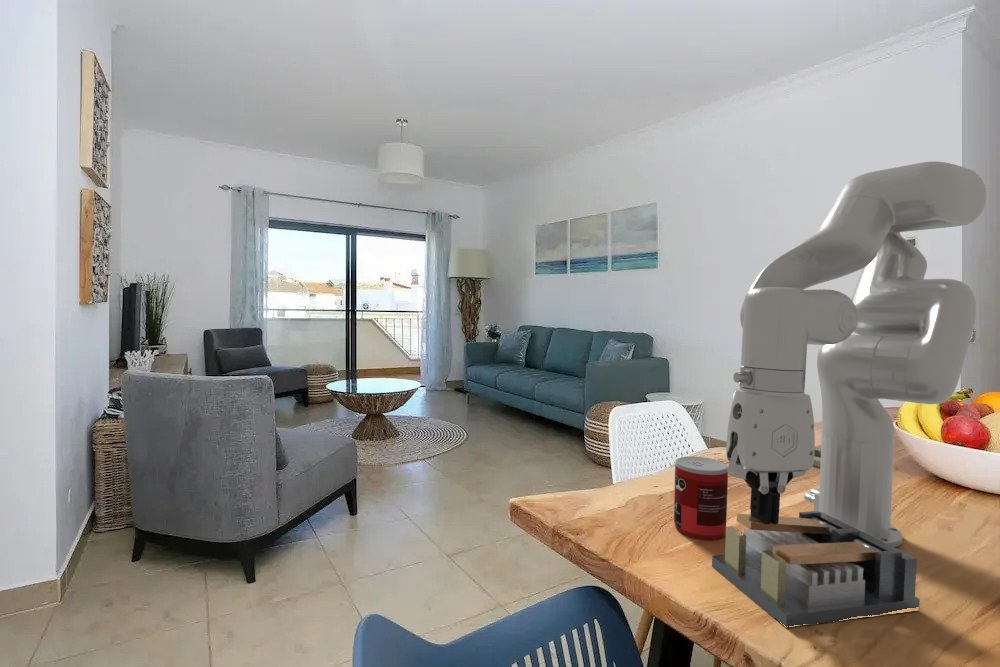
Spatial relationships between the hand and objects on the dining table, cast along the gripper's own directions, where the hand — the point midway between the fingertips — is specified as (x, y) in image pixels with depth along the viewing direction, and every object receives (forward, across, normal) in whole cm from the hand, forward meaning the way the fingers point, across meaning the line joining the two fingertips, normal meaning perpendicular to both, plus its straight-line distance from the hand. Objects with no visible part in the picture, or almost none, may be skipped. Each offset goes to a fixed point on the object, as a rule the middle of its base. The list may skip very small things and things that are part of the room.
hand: (764, 519), depth 68 cm
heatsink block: (+8, +4, -3) cm, 9 cm away
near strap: (+2, +4, -6) cm, 8 cm away
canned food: (+8, 0, +15) cm, 17 cm away
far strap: (+2, +4, 0) cm, 4 cm away
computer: (+6, +48, +45) cm, 66 cm away
